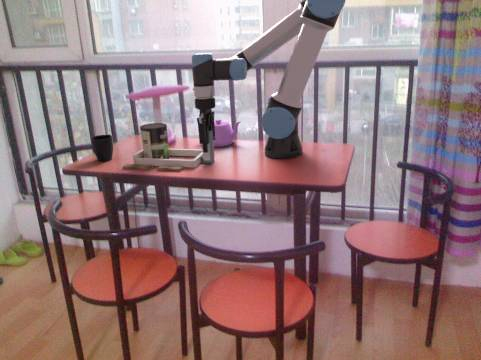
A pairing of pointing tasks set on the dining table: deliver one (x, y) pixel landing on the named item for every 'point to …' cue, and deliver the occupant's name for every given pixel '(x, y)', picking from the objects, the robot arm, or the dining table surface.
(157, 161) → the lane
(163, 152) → the coffee can
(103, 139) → the mug
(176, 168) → the broken strip
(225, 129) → the teapot
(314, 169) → the dining table surface
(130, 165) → the broken strip
